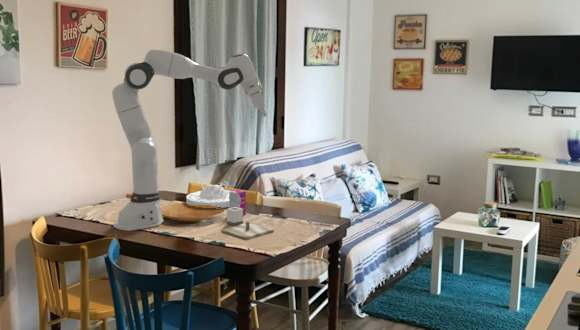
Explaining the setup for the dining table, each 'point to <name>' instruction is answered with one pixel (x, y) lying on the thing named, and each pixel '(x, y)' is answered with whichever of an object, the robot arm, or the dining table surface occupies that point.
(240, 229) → the pin board
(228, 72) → the robot arm
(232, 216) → the sleeve
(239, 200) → the supplement box
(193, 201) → the cake
